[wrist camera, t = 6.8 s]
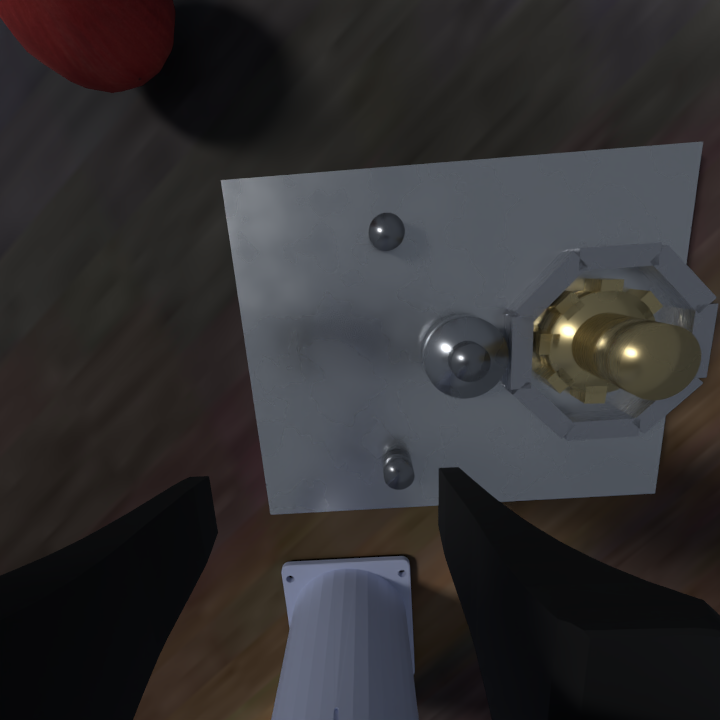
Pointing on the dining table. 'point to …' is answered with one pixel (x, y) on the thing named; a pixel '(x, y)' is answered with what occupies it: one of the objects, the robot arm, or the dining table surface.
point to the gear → (613, 345)
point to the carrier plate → (392, 298)
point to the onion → (95, 38)
